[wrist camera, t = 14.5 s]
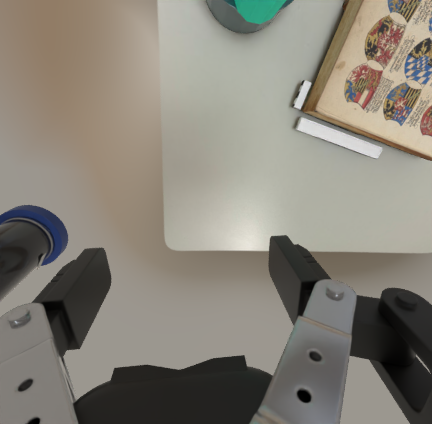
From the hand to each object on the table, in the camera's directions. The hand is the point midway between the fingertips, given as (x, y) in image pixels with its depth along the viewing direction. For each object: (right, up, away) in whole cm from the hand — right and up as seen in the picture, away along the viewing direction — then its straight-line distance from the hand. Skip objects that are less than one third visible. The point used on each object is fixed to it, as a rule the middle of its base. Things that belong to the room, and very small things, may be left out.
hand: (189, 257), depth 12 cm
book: (+30, +25, +29) cm, 49 cm away
